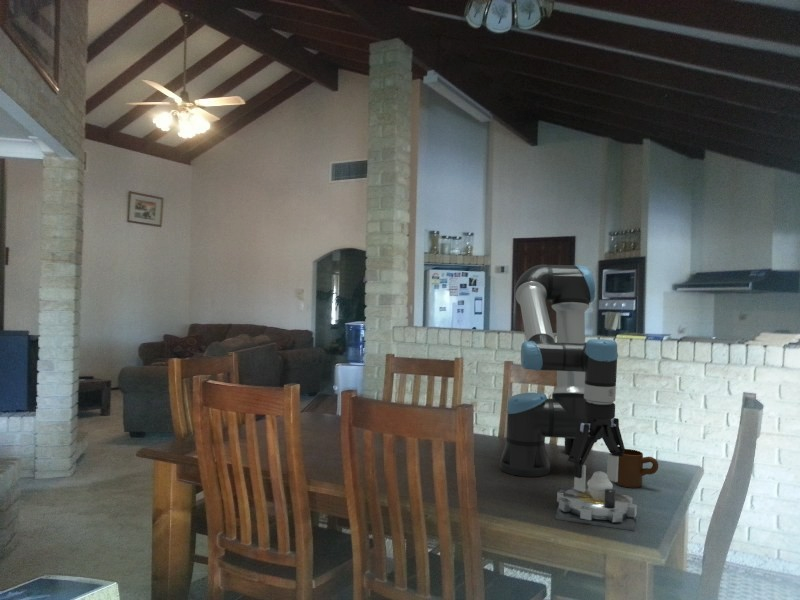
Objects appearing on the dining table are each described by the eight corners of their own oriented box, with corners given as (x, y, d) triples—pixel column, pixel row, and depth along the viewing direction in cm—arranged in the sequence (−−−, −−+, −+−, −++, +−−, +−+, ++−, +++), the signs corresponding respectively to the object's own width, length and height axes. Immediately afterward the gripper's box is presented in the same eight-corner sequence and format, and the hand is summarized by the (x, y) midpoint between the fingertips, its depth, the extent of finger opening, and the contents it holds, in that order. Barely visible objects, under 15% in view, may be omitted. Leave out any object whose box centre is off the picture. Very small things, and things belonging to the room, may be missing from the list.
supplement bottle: (587, 452, 211) (588, 418, 211) (581, 457, 205) (582, 421, 205) (567, 449, 215) (568, 415, 215) (561, 453, 209) (562, 418, 209)
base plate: (555, 518, 149) (555, 514, 149) (562, 495, 166) (562, 491, 166) (634, 530, 143) (634, 526, 143) (633, 505, 160) (633, 501, 160)
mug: (661, 487, 175) (662, 455, 175) (653, 494, 170) (654, 460, 169) (619, 478, 183) (621, 447, 183) (610, 484, 177) (611, 451, 177)
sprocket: (581, 524, 143) (582, 497, 143) (543, 496, 161) (544, 472, 161) (652, 519, 147) (653, 493, 147) (608, 493, 166) (609, 469, 166)
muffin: (599, 504, 150) (600, 475, 150) (581, 496, 155) (582, 468, 155) (617, 501, 152) (618, 473, 152) (599, 493, 158) (600, 466, 158)
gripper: (581, 409, 143) (577, 499, 144) (641, 399, 158) (637, 480, 159) (555, 403, 149) (552, 490, 150) (615, 394, 164) (612, 472, 165)
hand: (596, 485), depth 155 cm, fingers open, 13 cm apart
